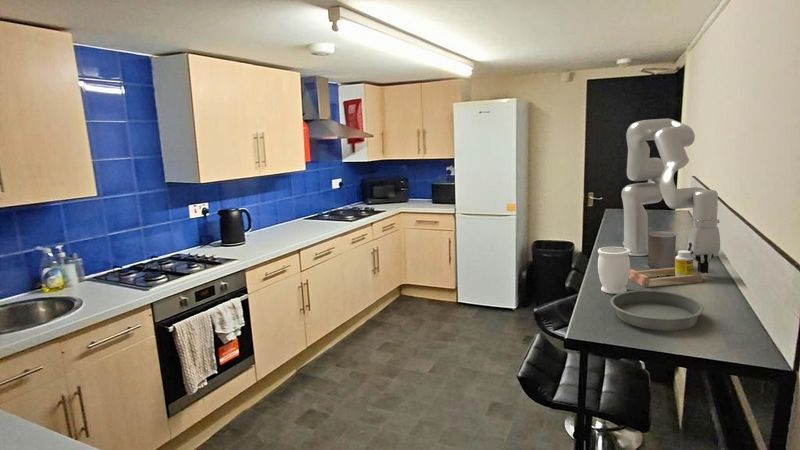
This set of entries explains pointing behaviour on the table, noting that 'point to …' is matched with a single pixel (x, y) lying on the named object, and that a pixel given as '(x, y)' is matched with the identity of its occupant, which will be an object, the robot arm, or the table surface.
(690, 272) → the supplement bottle
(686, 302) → the cake pan
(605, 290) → the jar
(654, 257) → the pillar candle
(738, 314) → the table surface
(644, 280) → the channel
